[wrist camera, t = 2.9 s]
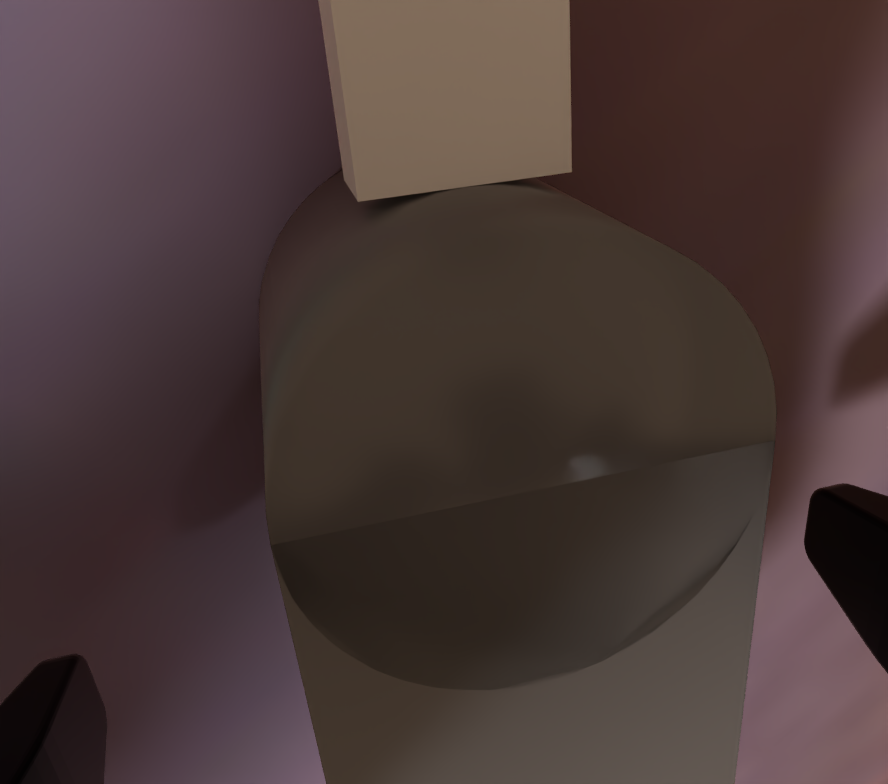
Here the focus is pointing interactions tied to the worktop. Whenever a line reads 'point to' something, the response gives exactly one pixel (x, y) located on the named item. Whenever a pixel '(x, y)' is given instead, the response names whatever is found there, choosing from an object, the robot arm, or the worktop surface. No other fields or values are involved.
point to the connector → (502, 433)
